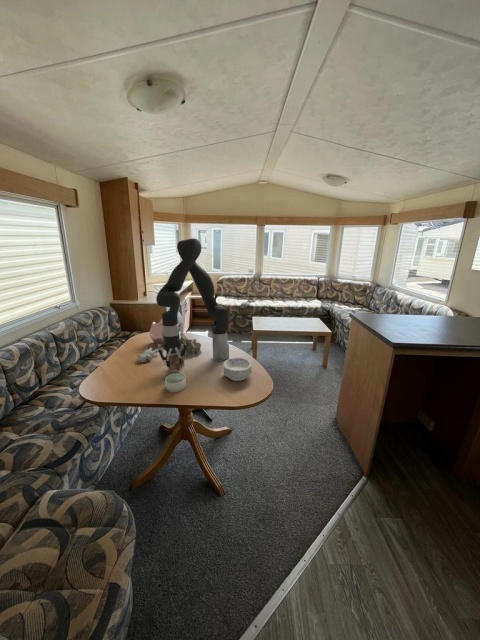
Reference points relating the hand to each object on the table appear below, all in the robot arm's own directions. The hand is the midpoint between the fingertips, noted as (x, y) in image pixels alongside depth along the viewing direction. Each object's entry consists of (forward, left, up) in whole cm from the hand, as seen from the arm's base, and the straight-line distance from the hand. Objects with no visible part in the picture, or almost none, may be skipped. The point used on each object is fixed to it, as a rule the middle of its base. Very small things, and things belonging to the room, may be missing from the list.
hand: (173, 365), depth 129 cm
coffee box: (-6, -19, -12) cm, 23 cm away
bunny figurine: (+6, -41, -12) cm, 43 cm away
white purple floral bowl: (-32, +7, -12) cm, 35 cm away
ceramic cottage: (-18, -34, -12) cm, 40 cm away
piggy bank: (-8, -62, -12) cm, 64 cm away
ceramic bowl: (0, 0, -12) cm, 12 cm away
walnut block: (0, 0, -1) cm, 1 cm away
